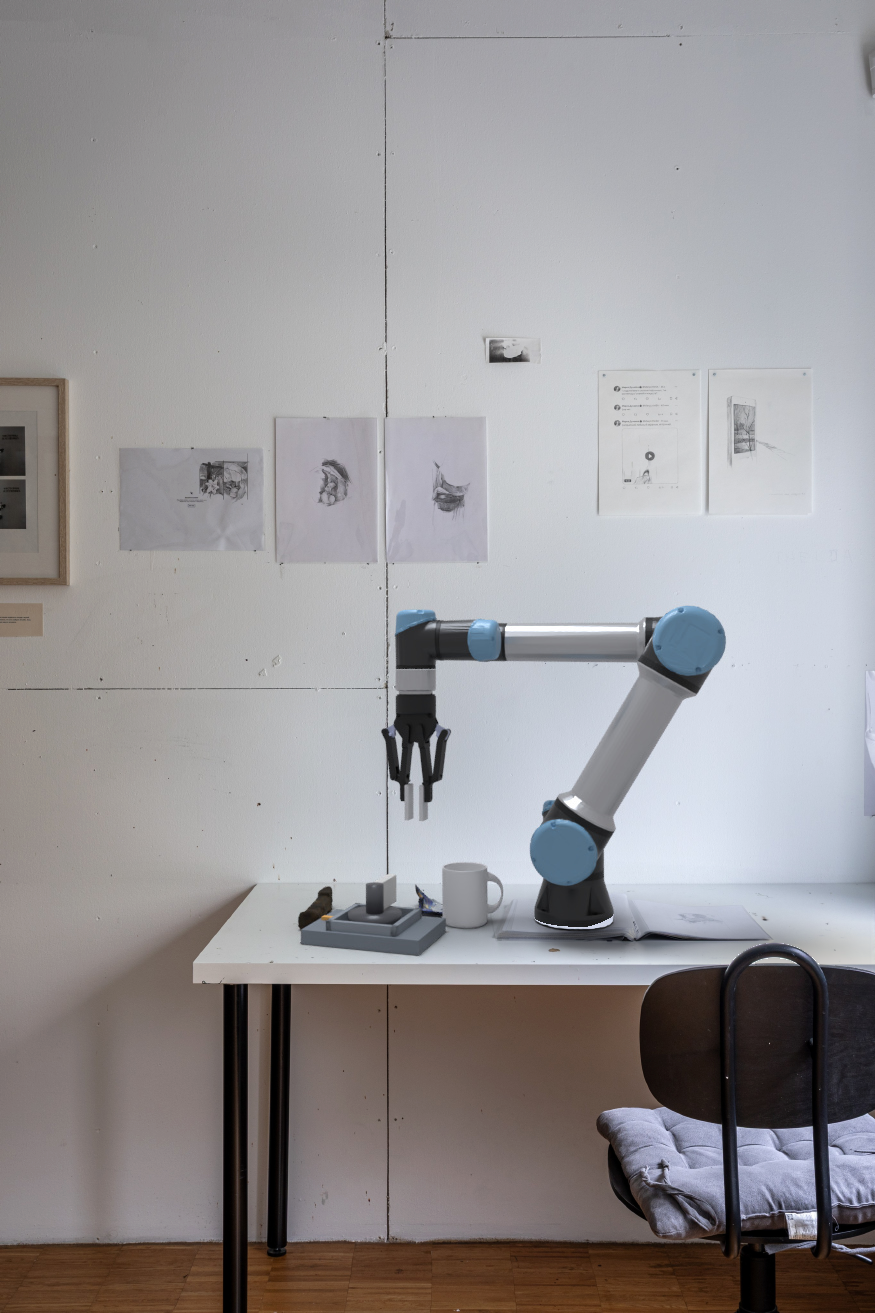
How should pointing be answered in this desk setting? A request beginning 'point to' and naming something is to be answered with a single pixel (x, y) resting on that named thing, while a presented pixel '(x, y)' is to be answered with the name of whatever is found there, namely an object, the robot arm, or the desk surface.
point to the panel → (375, 932)
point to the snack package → (426, 902)
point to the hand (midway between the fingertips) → (416, 819)
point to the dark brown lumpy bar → (317, 908)
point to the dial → (378, 903)
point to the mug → (467, 894)
